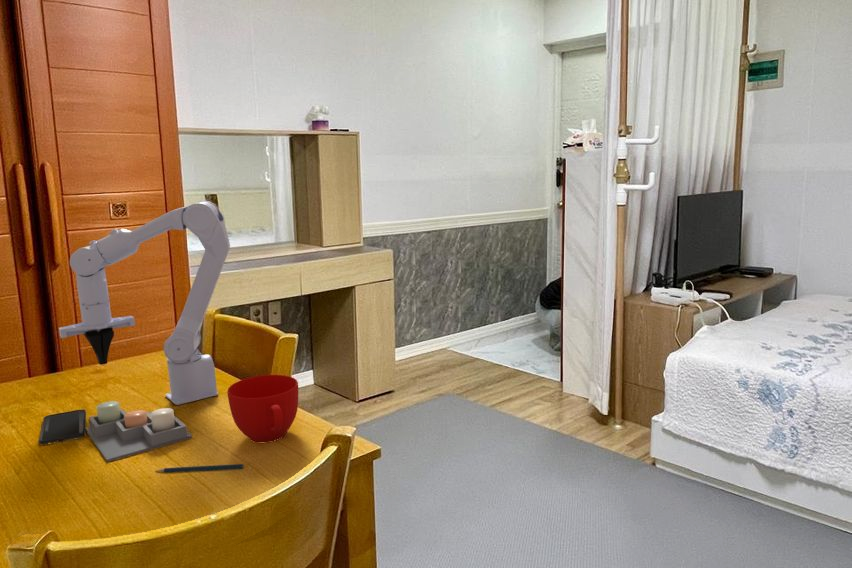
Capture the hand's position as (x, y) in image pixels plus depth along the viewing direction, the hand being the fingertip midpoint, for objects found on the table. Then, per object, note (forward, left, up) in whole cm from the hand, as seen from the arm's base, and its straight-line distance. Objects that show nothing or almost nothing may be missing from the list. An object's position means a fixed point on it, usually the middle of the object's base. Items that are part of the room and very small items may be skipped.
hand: (102, 363), depth 143 cm
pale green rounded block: (+3, +16, -7) cm, 18 cm away
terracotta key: (-1, +22, -9) cm, 24 cm away
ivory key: (-4, +28, -7) cm, 29 cm away
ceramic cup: (-19, +42, -10) cm, 47 cm away
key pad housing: (0, +22, -9) cm, 24 cm away
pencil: (-4, +45, -10) cm, 47 cm away
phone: (+10, +8, -10) cm, 16 cm away
